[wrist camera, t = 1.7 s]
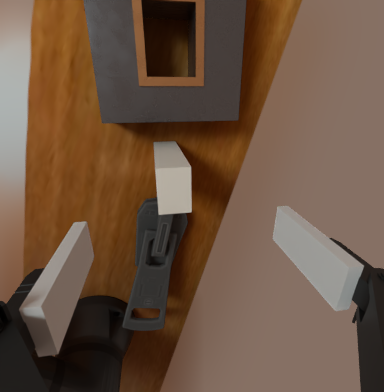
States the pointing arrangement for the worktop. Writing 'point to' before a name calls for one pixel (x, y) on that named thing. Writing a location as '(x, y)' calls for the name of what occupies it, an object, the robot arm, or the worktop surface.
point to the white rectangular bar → (172, 179)
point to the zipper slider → (153, 263)
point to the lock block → (167, 86)
